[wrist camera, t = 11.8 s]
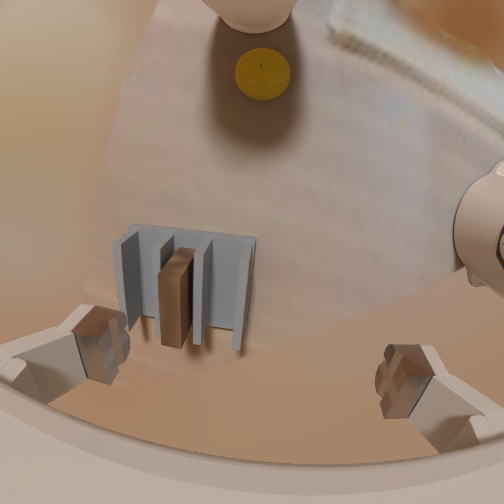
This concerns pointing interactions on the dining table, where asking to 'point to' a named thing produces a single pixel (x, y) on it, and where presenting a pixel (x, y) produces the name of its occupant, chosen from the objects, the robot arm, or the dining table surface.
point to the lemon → (262, 73)
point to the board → (176, 297)
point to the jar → (252, 13)
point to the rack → (204, 283)
